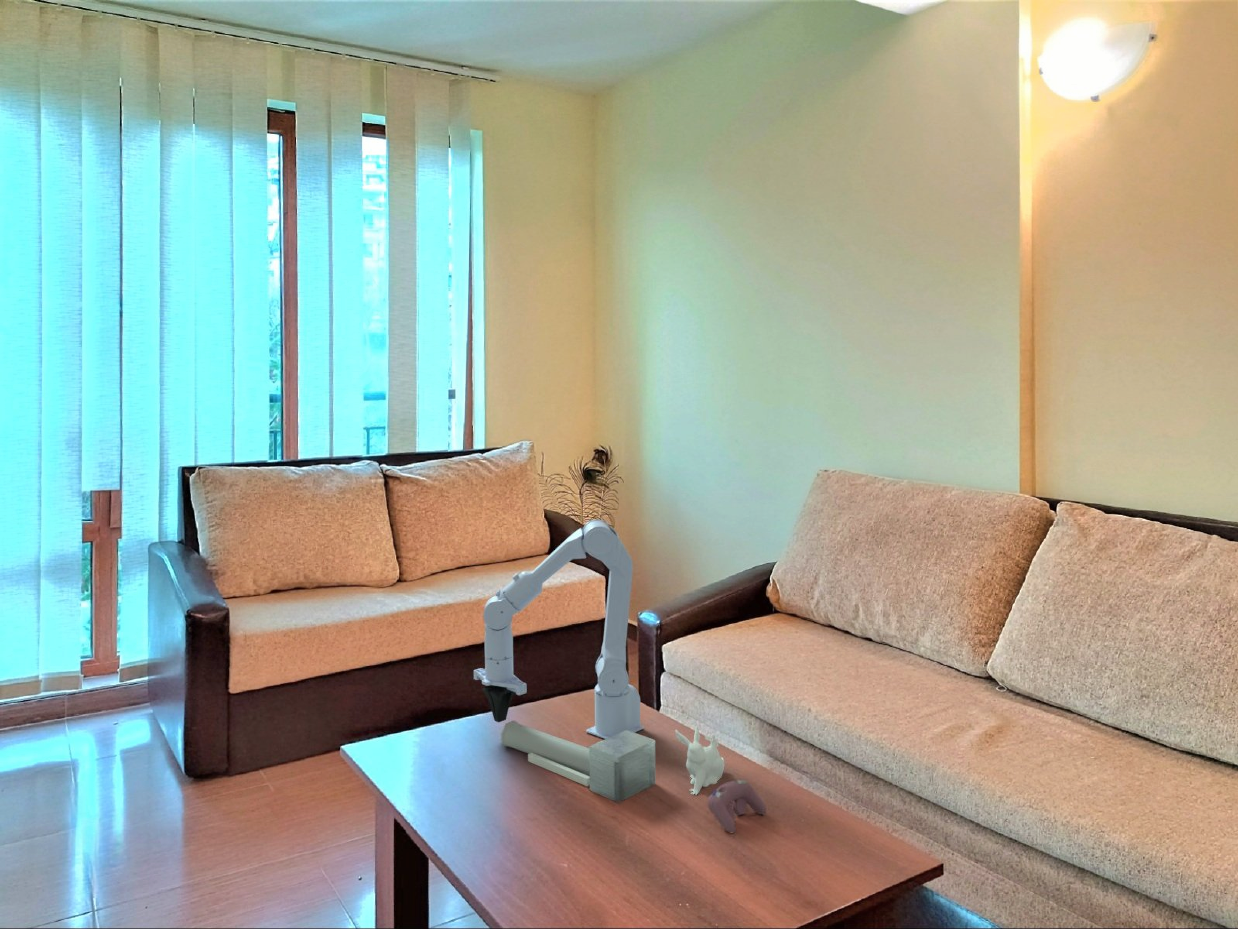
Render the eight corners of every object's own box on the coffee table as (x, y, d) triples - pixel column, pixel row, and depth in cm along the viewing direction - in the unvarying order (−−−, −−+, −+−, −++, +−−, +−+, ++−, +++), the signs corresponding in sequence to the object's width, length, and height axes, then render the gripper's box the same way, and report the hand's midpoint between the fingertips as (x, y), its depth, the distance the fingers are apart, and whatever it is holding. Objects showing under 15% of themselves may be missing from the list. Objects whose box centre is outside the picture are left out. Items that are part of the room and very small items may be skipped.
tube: (617, 753, 167) (522, 720, 183) (599, 753, 163) (503, 720, 179) (611, 783, 166) (516, 747, 182) (593, 783, 162) (498, 747, 178)
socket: (626, 772, 168) (626, 730, 167) (655, 783, 163) (655, 740, 162) (589, 790, 161) (589, 746, 160) (618, 802, 156) (618, 757, 155)
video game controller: (750, 816, 154) (736, 775, 156) (770, 812, 151) (755, 771, 152) (714, 837, 147) (699, 794, 149) (734, 834, 144) (718, 790, 146)
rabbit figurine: (695, 797, 158) (695, 743, 157) (661, 784, 163) (661, 732, 162) (734, 775, 167) (734, 724, 166) (701, 763, 172) (701, 714, 171)
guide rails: (559, 748, 179) (558, 741, 179) (617, 771, 168) (617, 764, 168) (528, 761, 173) (527, 754, 173) (587, 786, 162) (587, 779, 162)
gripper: (461, 653, 185) (462, 716, 186) (507, 668, 175) (508, 735, 177) (488, 645, 190) (489, 707, 191) (534, 659, 180) (535, 725, 182)
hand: (500, 720), depth 184 cm, fingers closed
